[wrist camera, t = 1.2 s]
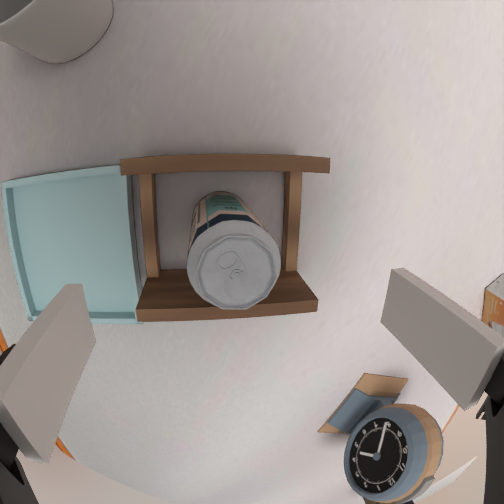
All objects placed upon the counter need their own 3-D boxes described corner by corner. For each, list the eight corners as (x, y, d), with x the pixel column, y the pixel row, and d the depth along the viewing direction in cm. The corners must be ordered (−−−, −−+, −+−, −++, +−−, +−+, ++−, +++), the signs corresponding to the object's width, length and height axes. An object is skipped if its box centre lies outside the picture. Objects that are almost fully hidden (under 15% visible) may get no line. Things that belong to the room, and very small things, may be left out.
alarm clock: (368, 367, 35) (439, 467, 18) (411, 373, 37) (476, 452, 21) (314, 435, 38) (353, 529, 22) (359, 435, 41) (402, 514, 24)
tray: (10, 180, 20) (0, 182, 19) (131, 163, 22) (125, 164, 21) (35, 312, 25) (28, 320, 23) (145, 314, 27) (142, 324, 25)
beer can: (212, 255, 26) (222, 333, 15) (181, 211, 25) (165, 262, 13) (258, 226, 26) (302, 284, 15) (229, 179, 24) (254, 205, 13)
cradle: (142, 157, 22) (120, 159, 16) (297, 155, 25) (330, 158, 18) (151, 280, 26) (137, 321, 20) (290, 274, 28) (316, 311, 22)
